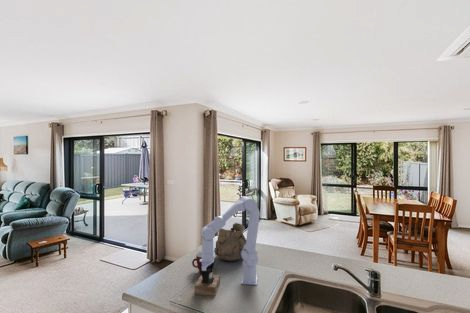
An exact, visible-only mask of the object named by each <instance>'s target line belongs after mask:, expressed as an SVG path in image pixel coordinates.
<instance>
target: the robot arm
mask: <svg viewBox="0 0 470 313" xmlns="http://www.w3.org/2000/svg"><path fill="white" fill-rule="evenodd" d="M245 211H246V213H247V214H248V215H249V217H248V224H247V231H246V237H245V239H246V244H245V245H244V247H243V250H242V252H241V259H242V278H241V281H240V282H241V283H240V284H241V285H252V286H253V285H255V286H257V284H258V275H257V264H258V262H259V257H258V250H257V247H256V246H257V245H256V244H257V239H258V238H257V237H258V231H259V222H260V216H261V213H260V212H261V211H260V209H259V206H258V203H257V202H256V200H255V199H253V198H250V197H248V196H246V195H243V196H241V197H240V198H238V199H237V200H236V201H235V202H234V204H232V205H231V206H230V207H229V208H228V209H227V211H225V212H224V213H223V214H222V215H217V216H214V217H213V218H214V219H213V220H212V221H211V222H209V223H207V224H206V225H205V226H203V227H202V228H201V230H200V235H201V236H202V237H201V252H202V259H200V262H202V267H200V269H199V270H198V271H199V273H200V276H201V275H202V278H203V282H204V283H208V281H209V274H210V273H213V270H214V266H215V262H216V259H215V258H214V239H215V236H216V234H217V233H219V230H220V229H223V228H224V226H225V225H226V224H227V221H228V220H229V219H231V218H232V217H233V216H234V215H235V214H237V213H238V212H245Z"/></svg>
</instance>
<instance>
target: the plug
mask: <svg viewBox="0 0 470 313" xmlns="http://www.w3.org/2000/svg"><path fill="white" fill-rule="evenodd" d="M213 275H214V274H213V272H212V273H210V274H209V281H208V283H207V284H212V283H213ZM203 283H204V282H203Z"/></svg>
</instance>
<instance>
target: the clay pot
mask: <svg viewBox="0 0 470 313" xmlns="http://www.w3.org/2000/svg"><path fill="white" fill-rule="evenodd" d="M245 229H246V228H245V225H243V224H241V223H238V222H235V223H233V224H232V227H231V228H230V229H224V228H221V229H220V230H219V231H218V236H217V240H216V241H215V247H214V249H213V253H214V255H215V256H216V257H217V258H219V259H220V260H223V261H228V262H229V261H230V262H231V261H237V260H240V258H241V259H242V257H241V252H242V250H243V247H244V245H245V244H246V237H245V235H244V231H245Z"/></svg>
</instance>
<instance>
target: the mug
mask: <svg viewBox="0 0 470 313" xmlns="http://www.w3.org/2000/svg"><path fill="white" fill-rule="evenodd" d="M200 259H202V251H200V252H198V253H196V255H195V258H194V259H192V261H191V265H192V267H194V268H195V269H196V268H197V270H198V271H199V269H200V267H202V262H200ZM195 261H196V265H195Z"/></svg>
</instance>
